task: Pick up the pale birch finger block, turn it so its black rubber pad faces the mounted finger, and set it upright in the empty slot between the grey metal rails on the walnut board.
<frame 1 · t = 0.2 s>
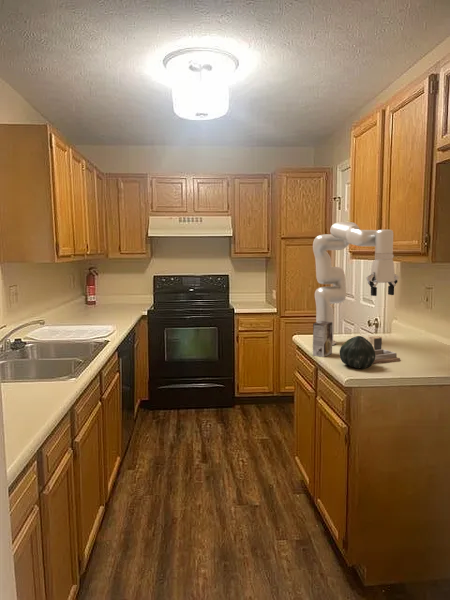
hand: (382, 295, 193), 31 cm above the countertop, tool pointing down, fingers open, 9 cm apart
coffee box: (322, 354, 211), on the countertop
rail board: (376, 359, 201), on the countertop
birch finger: (374, 352, 215), on the countertop
squash: (357, 367, 189), on the countertop
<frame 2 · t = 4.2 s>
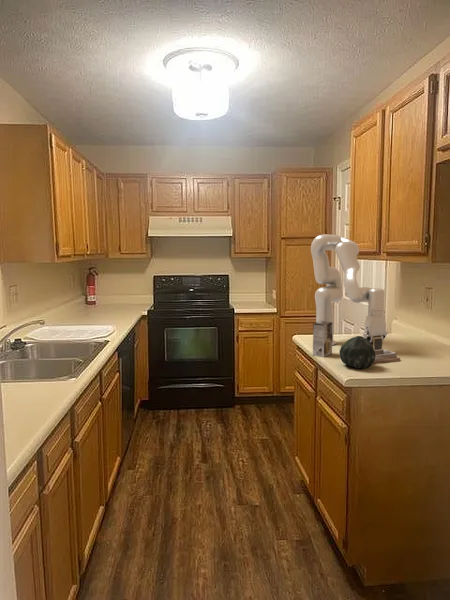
hand: (374, 348, 215), 2 cm above the countertop, tool pointing down, fingers closed on birch finger, 4 cm apart
birch finger: (374, 352, 215), on the countertop, touching gripper
everything else where it was.
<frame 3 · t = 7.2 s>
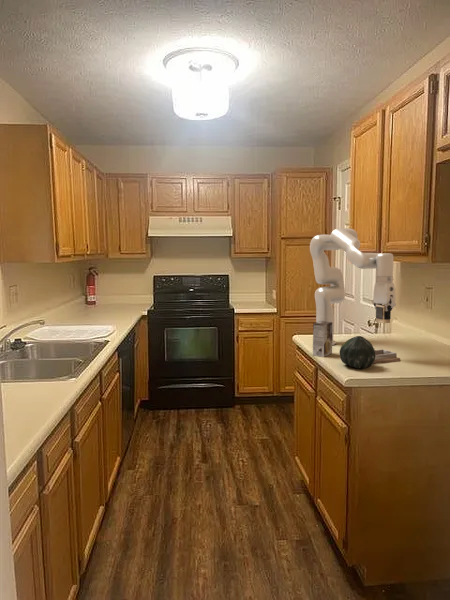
hand: (383, 318, 200), 19 cm above the countertop, tool pointing down, fingers closed on birch finger, 4 cm apart
birch finger: (382, 322, 200), point 17 cm above the countertop, touching gripper
everything else where it was.
when the fingers open (5 cm above the countertop, at t = 10.3 s): birch finger drops 1 cm, resting on rail board.
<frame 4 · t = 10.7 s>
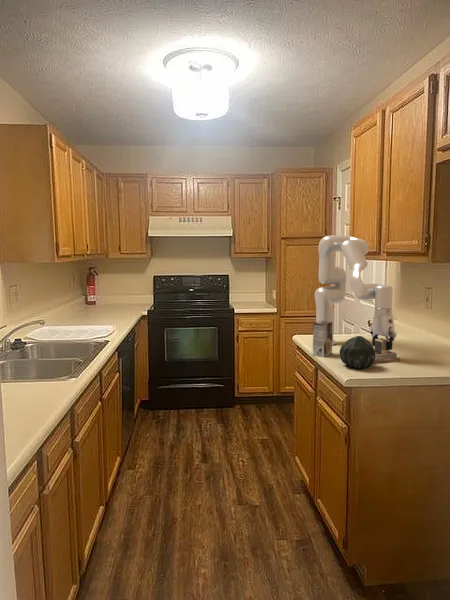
hand: (382, 347, 201), 5 cm above the countertop, tool pointing down, fingers open, 8 cm apart
birch finger: (381, 356, 202), point 1 cm above the countertop, touching rail board
everything else where it was.
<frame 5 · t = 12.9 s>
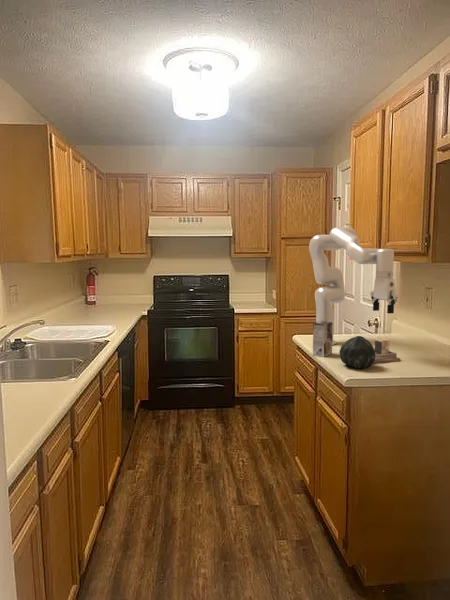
hand: (383, 311, 200), 22 cm above the countertop, tool pointing down, fingers open, 9 cm apart
nothing on the countertop moved.
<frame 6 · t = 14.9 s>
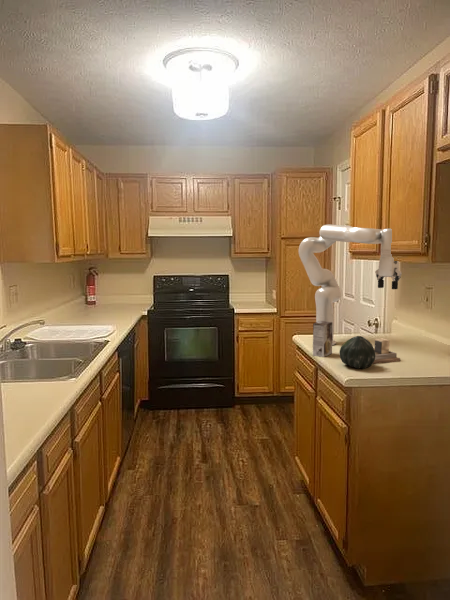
hand: (387, 288, 212), 32 cm above the countertop, tool pointing down, fingers open, 9 cm apart
nothing on the countertop moved.
at the end: birch finger 0.3 cm from the target spot on the rail board, point 1.2 cm above the rail board's base; birch finger tilted 0°; the gripper is holding nothing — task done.
